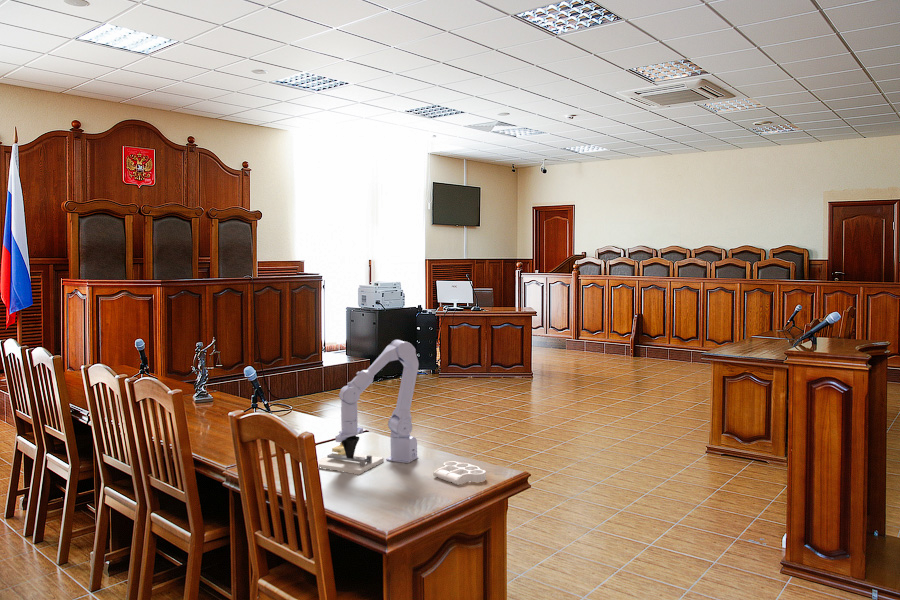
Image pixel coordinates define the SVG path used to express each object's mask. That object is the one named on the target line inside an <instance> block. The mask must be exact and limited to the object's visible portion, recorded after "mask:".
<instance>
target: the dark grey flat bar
mask: <svg viewBox="0 0 900 600" xmlns="http://www.w3.org/2000/svg"><path fill="white" fill-rule="evenodd" d="M326 457H327V458H334V459H341V460H348V461H356V462H360V459H365V463H366V462H368V461H369V460H370V458H369V457H367V458H364V457H356V456H353V457H352V458H347V457H346V455H341V454H334V452H332V453H330V454H328V455H326Z"/></svg>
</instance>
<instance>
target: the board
mask: <svg viewBox="0 0 900 600" xmlns="http://www.w3.org/2000/svg"><path fill="white" fill-rule="evenodd" d="M333 454H338V452H333ZM354 456H356V457H364V458H367V457H369V458H370V460H369V461H368V462H366V463H365V459H360V462H356V461H348V460H341V459H334V458H327V456H325V457H324V458H321V459H319V460H317V461H318V462H319V468H320V467H321V468H326V469H331V470H330V471H333V470H338V471H337V472H340V471H344V472H343V473H346V472H348V473H347V474H353V473H354V474H355V475H361V474H363V473H365V472H367V471H369V470H370V468H371V469H372V467H373V468H374V467H377V466H378V465H381V464H383V462H384V459H385V458H384V457H381V456H380V457H379V456H373V455H371V454H370V455H369V454H365V455H364V454H359V453H354ZM376 465H377V466H376ZM319 468H318V469H319ZM326 469H325V470H326ZM368 469H369V470H368ZM366 470H367V471H366ZM364 471H365V472H364Z"/></svg>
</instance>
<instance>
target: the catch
mask: <svg viewBox="0 0 900 600" xmlns="http://www.w3.org/2000/svg"><path fill="white" fill-rule="evenodd" d="M331 451H332V453H337V452H338V454H341V455H346V453H345V450H344V447H343V445H342V443H341V442H339V445H337V446H334V447H333V448H331Z"/></svg>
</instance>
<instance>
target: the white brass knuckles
mask: <svg viewBox="0 0 900 600" xmlns="http://www.w3.org/2000/svg"><path fill="white" fill-rule="evenodd" d="M486 473H487V471H486V470H485V469H481V468H480V466H477V465H473V464H471V463H467V462H460V461H455V460H454V461H453V460H450V461H444V462H443V465H442V467H439V468H437V469H436V470H435V471H433V477H435V478H437V477H438V479H441V480H443V481H446V482H448V483H451V482H452V484H455V485H457V486H460V485H459V484H461V485H463V484H462V483H464V484H466V483H465V482H469V481H471V482H481V481H484V480H486V481H487V477H486V476H487V474H486ZM471 482H469V483H471Z"/></svg>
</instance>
